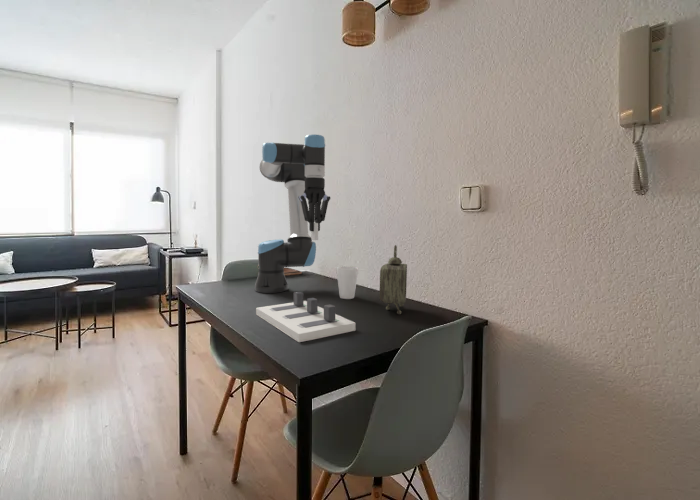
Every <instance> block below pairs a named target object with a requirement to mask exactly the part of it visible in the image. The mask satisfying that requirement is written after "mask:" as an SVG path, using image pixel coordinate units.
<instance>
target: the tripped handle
mask: <svg viewBox="0 0 700 500" xmlns="http://www.w3.org/2000/svg"><path fill="white" fill-rule="evenodd" d="M306 301H307V312H309V313H316V312H318V306H319V305H318V304H319V303H318V302H319V300H318V298H315V297H309V298H306Z"/></svg>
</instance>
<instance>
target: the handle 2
mask: <svg viewBox="0 0 700 500" xmlns="http://www.w3.org/2000/svg"><path fill="white" fill-rule="evenodd" d="M323 309H324V319H325V320H327V321H333V320H335V314H336V305H334V304H325V305H323Z"/></svg>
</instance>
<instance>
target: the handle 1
mask: <svg viewBox="0 0 700 500" xmlns="http://www.w3.org/2000/svg"><path fill="white" fill-rule="evenodd" d="M303 301H304V293H303V292H301V291H294V292H293V302H294V305H296V306H302V305H303Z"/></svg>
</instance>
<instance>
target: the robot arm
mask: <svg viewBox="0 0 700 500" xmlns="http://www.w3.org/2000/svg"><path fill="white" fill-rule="evenodd" d="M325 142H326V140H325V137H324V135H321V134H307V135H306V136H305V137H304V142H303V144H298V143H297V144H296V143H280V142H272V141H271V142H264V143H263V144H262V149H261V153H262V156H261V157H262V160H261V161H260V163H259V172H260V173H261V175H262V176H263V177H264V178H266V179H267V180H269V181H272V182H276V183H284V187H285V188H286V189H287V194H288V212H289V233H290V235H289V237H288V238H287V239H286V240H287V242H285V241H284V239H281V238H279V239H272V240H265V241H261V242H260V243H259V244H258V246H257V247H258V250H257V251H258V252H257V254H258V264H257V267H258V266H259V268H258V271H259V272H258V274H257V278H256V280H255V284H254V291H255V292H258V293H261V294H262V293H264V294H276V293H283V292H285V291H288V282H287V278H286V276H285V275H284V268H295V267H296V268H297V267H299V268H300V267H301V268H304V267H312V266H313V264H314V262H315V259H316V253H317V252H316V251H317V244H316V242H315V241H319V232H320V230H321V223H322V222H324V221H325V219H326V215H327V210H328V205H329V202H330V200H331V196H328V195H327V194H326V191H325V187H326V186H325V185H326V184H325V182H326V181H325V178H324V177H325V176H326V175H325V173H326V172H325V169H326V167H325V163H326V162H325V157H326V156H325V154H326V151H325V149H326V143H325ZM308 223H309V224H308ZM309 232H311V233H310V234H311V236H310V235H309Z"/></svg>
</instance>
